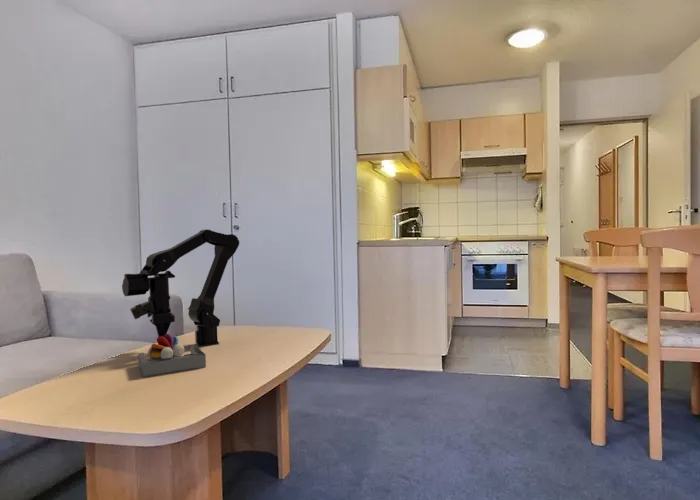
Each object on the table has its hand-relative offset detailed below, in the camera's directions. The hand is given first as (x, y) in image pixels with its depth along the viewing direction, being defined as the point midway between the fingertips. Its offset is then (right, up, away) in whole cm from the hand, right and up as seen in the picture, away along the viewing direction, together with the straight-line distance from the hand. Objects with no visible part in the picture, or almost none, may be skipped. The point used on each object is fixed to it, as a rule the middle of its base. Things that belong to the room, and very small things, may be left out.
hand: (161, 341), depth 146 cm
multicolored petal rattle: (+4, -4, -6) cm, 8 cm away
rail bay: (+10, -4, -17) cm, 20 cm away
